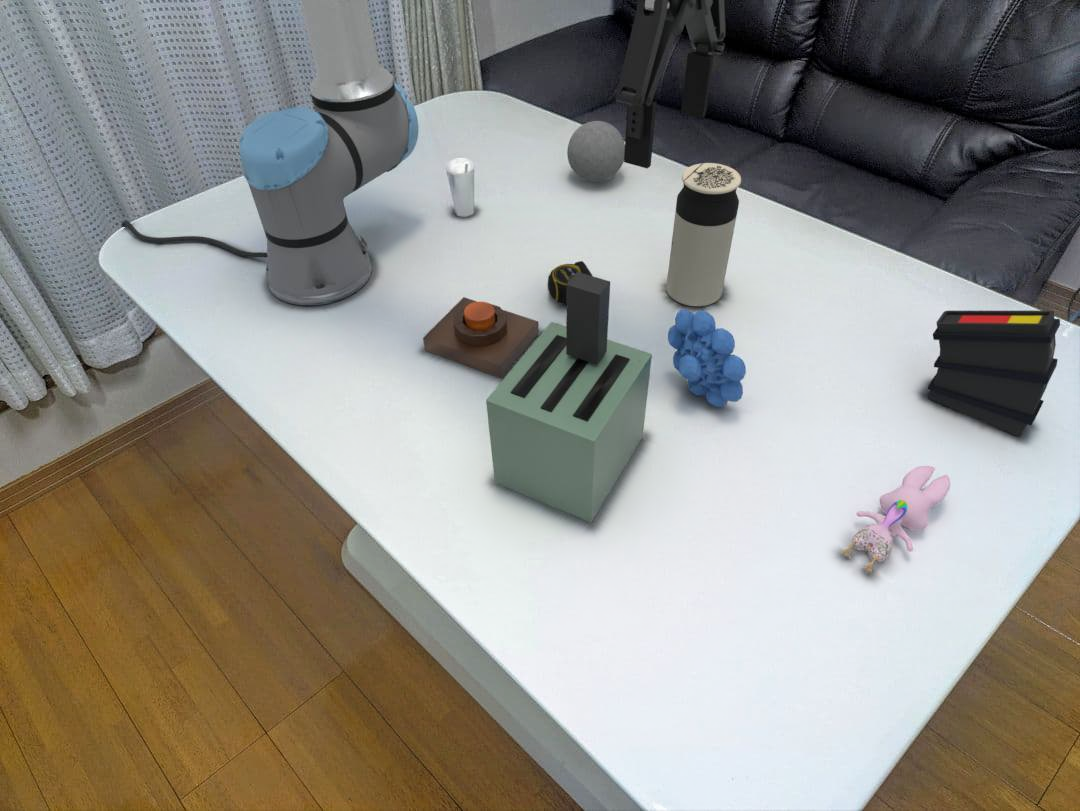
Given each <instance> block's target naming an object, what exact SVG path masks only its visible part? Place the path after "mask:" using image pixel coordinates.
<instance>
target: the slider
mask: <svg viewBox="0 0 1080 811" xmlns="http://www.w3.org/2000/svg"><path fill="white" fill-rule="evenodd" d="M610 295H611V281H610V280H607V279H604V278H600V277H597V276H593V275H592V276H590V275H586V274H583V273H580V272H577V273H576V274H575V275H574V276H573V278H572V279H571V280H570V281H569V282H568V283H567V304H566V305H565V306H566V307H565V308H566V311H565V312H566V314H565V315H566V316H565V318H566V319H565V320H566V325H565V326H566V354H567V355H569V356H572V357H575V358H578V359H581V360H584V361H587V362H590V363H593V364H596V365H597V364H598V363H599V361H600V360H601V359H602V357H603V356H604V355H605V353H606V352H607V339H608V333H609V314H610V298H611V296H610Z"/></svg>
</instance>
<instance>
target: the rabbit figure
mask: <svg viewBox="0 0 1080 811" xmlns="http://www.w3.org/2000/svg"><path fill="white" fill-rule="evenodd" d="M935 470H936V467H934V466H931V465H919V466H917V467H915V468H912V469H911V470H910V471H908V472H907V473H906V474H905V475H904V477H902V478H903V479H902V482H901V486H899V487H897V488H896V489H894V490H892V491H889V492H887V493H884V494H882V495H880V497H879V506H880V509H881V511H882V512H883V513H884V514H885V515H882V514H879V513H876V512H872V511H861V510H860V511H859V510H858V511H856V516H857V517H858V518H859V517H860V518H863V517H867V518H870V519H872V520H873V521H875V523H873V524H871V523H870V524H868V525H865V526H863V527H862V528H860V529H859V530H858V531H857V532H856V533H855V535H854V536H853V537H852V542H851V544H849V546H848V547H847V548H846V549H844V550H843V551H842V552H841V554H844V555H843V557H846V556H848V557H849V558H851V550H852V548H853V547H854V549H856V550H857V551H865V552H867V553H868V558H869V559H870V560H871V562H870V563H868V564H867V565H864V566H862V569H866V573H869V572H870V573H869V574H870V575H871V574H872V572H873V570H872V567H873V565H874V563H882V562H884V561H885V560H887V559H888V557H889V555H890V554H891V552H892V549H893V544H894V537H899V538H901V539H902V541H904V543H905V545H906V550H907V551H908V552H913V551H914V546H913V543H912V541H911V538H910V537H909V535H908V534H907V532H906V531H905V530H904V529H903V527H904V528H906V529H908V530H911V531H922V530H925V529H927V528H928V526H929V525H928V523H929V517H930V512H931V511H930V510H931V508H932V507H934V506H937V505H938V504H940V503H941V502H942V501H943V500H945V498H946V497H947V494H948V493H949V491H950V488H951V480H950V477H949V475H947V474H943V475H941V476H939V477H936V478H935V479H933V480H932V481H931V482H930V483H929V484H928V485H927V486H926V487H925V485H926V484H927V483H928V481H929V480H930V479H931V477H932V476H933V474H934V472H935ZM923 487H925V488H924V489H923ZM922 489H923V490H922Z"/></svg>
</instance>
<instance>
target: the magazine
mask: <svg viewBox="0 0 1080 811" xmlns="http://www.w3.org/2000/svg"><path fill="white" fill-rule="evenodd" d="M1060 326H1061V319H1060V318H1055V311H1054V310H945V311H943V312H942V314H940V317H939V318H938V319H937V321H936V329H935V330H934V331H933V333H932V339H933V341H938V344H939V356H938V357H937V358H936V360H935V362H934V363H933V368H937V371H936V373H935V375H934V376H933V378H932V379H931V381H930V382H929V384H928V385H927V387H926V390H927V391H929V392H928V393H927V398H928V399H929V400H932V401H934V402H936V403H938V404H941V405H943V406H946V407H948V408H951V409H952V410H955V411H957V412H959V413H962V414H964V415H967V416H969V417H971V418H974V419H976V420H978V421H980V422H983V423H985V424H987V425H990V426H992V427H994V428H997V429H999V430H1001V431H1003V432H1005V433H1009V434H1011V435H1013V436H1016V437H1022V436H1023V434H1024V432H1025V430H1026V428H1028V426H1030V427H1031V426H1032V425H1033V423H1034V422H1035V420H1036V418H1037V416H1038V414H1039V412H1040V410H1041V408H1042V406H1043V404H1044V401H1045V400H1042V398H1043V395H1044V394H1045V392H1046V389H1047V387H1048V384H1049V382H1050V380H1051V378H1052V376H1053V374H1054V372H1055V370H1056V368H1057V365H1058V358H1054V356H1055V350H1056V345H1057V342H1056V334H1057V332H1058V330H1059V328H1060Z"/></svg>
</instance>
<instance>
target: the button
mask: <svg viewBox="0 0 1080 811" xmlns="http://www.w3.org/2000/svg"><path fill="white" fill-rule="evenodd" d="M489 303H490V302H486V301H477V302H474V303H471V304H469V305H468V306H467V307H466V308H465V310H464V317H465V324H466V326H467V327H468V328H470V329H473V330H485V329H487V328H490V327H492V326H493V325H494V323H495V310H494V307H493V306H492V305H491V304H492V303H490V304H489Z"/></svg>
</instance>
